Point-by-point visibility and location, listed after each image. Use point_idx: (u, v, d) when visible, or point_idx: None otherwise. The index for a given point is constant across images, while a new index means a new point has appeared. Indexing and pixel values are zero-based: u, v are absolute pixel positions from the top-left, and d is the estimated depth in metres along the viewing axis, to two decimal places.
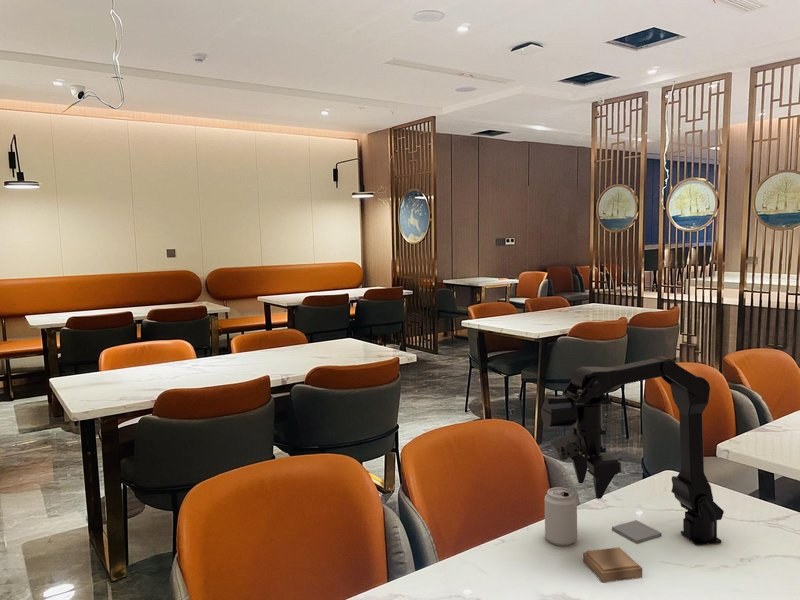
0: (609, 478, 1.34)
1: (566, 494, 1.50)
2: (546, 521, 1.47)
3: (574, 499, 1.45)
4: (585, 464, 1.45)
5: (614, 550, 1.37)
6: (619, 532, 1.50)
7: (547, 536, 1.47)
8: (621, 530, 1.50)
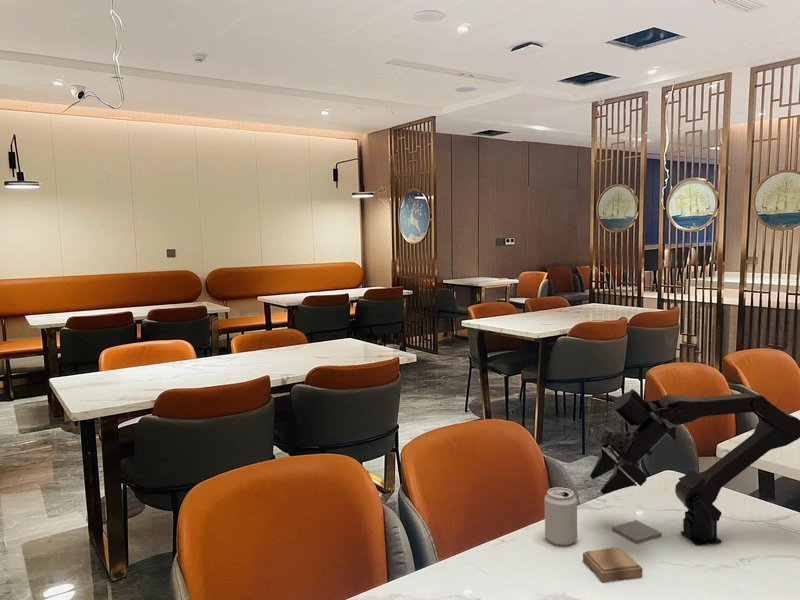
0: (625, 485, 1.40)
1: (566, 494, 1.50)
2: (546, 521, 1.47)
3: (574, 499, 1.45)
4: (607, 468, 1.51)
5: (614, 550, 1.37)
6: (619, 532, 1.50)
7: (547, 536, 1.47)
8: (621, 530, 1.50)
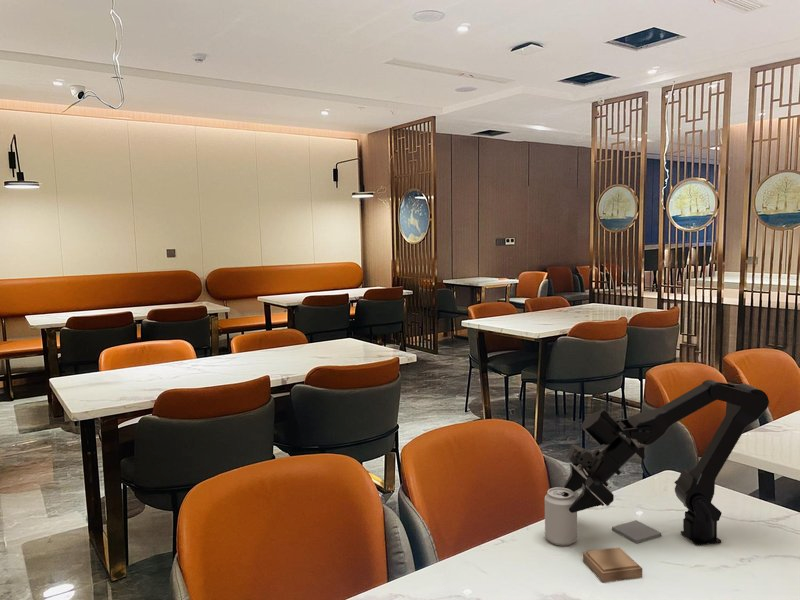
0: (592, 504, 1.40)
1: (566, 494, 1.50)
2: (546, 521, 1.47)
3: (574, 499, 1.45)
4: (577, 486, 1.51)
5: (614, 550, 1.37)
6: (619, 532, 1.50)
7: (547, 536, 1.47)
8: (621, 530, 1.50)
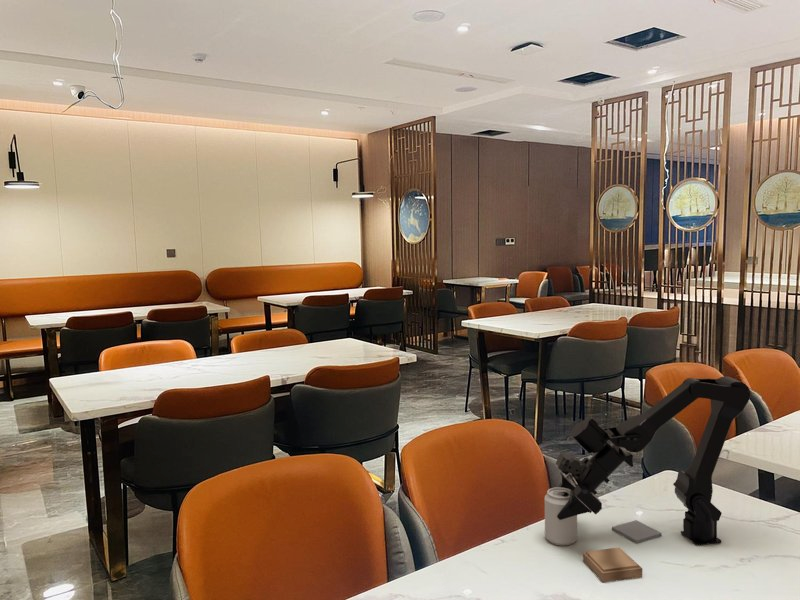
0: (580, 511, 1.41)
1: (566, 494, 1.50)
2: (546, 521, 1.47)
3: None
4: None
5: (614, 550, 1.37)
6: (619, 532, 1.50)
7: (547, 536, 1.47)
8: (621, 530, 1.50)
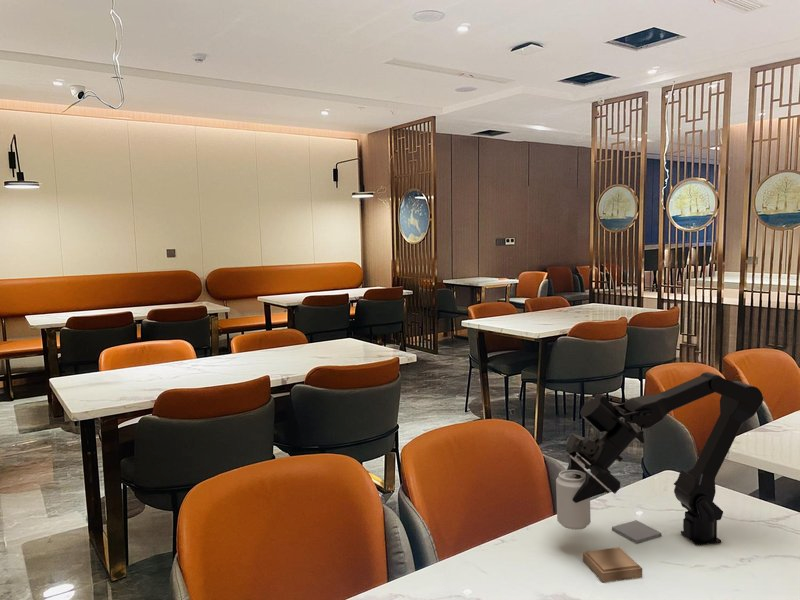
0: (597, 492, 1.37)
1: (576, 476, 1.45)
2: (559, 505, 1.41)
3: None
4: None
5: (614, 550, 1.37)
6: (619, 532, 1.50)
7: (561, 521, 1.41)
8: (621, 530, 1.50)
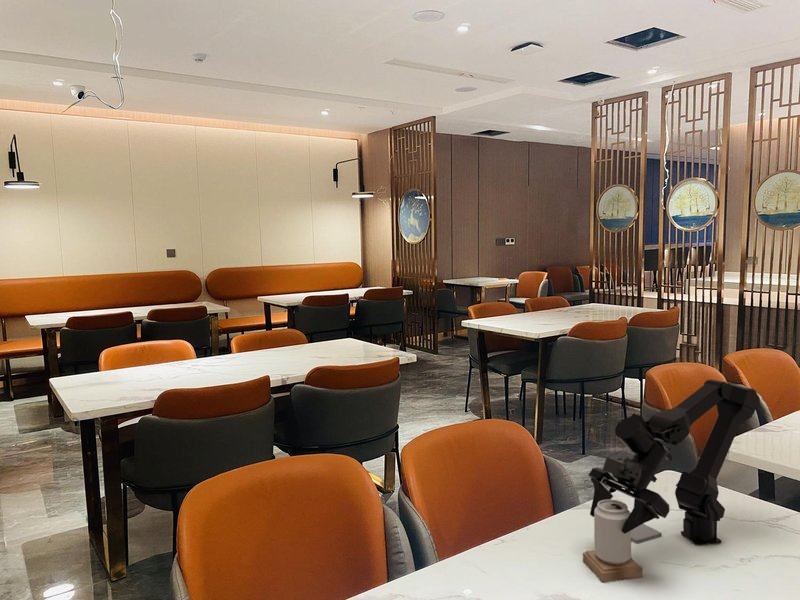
0: (646, 519, 1.29)
1: None
2: (602, 541, 1.31)
3: (628, 510, 1.32)
4: None
5: None
6: None
7: (604, 557, 1.31)
8: None
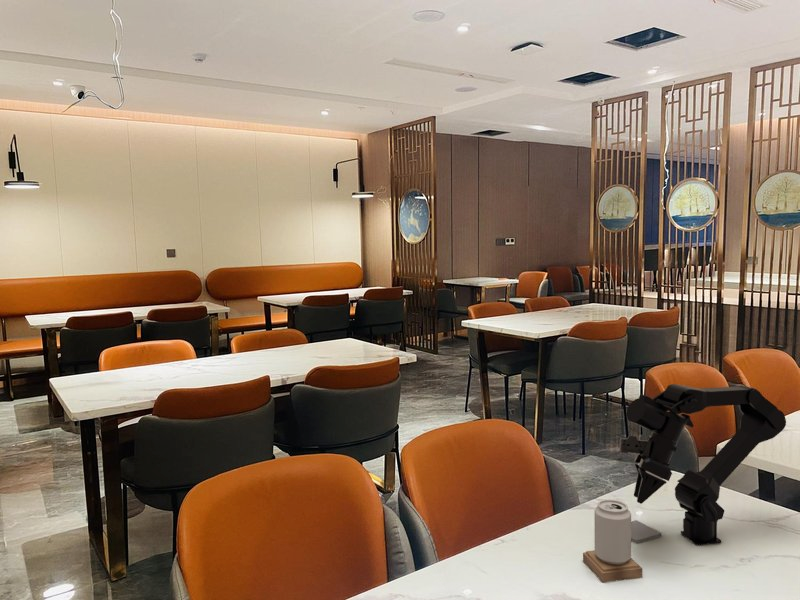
0: (656, 486, 1.34)
1: None
2: (602, 540, 1.31)
3: (628, 510, 1.33)
4: None
5: None
6: None
7: (604, 557, 1.31)
8: None
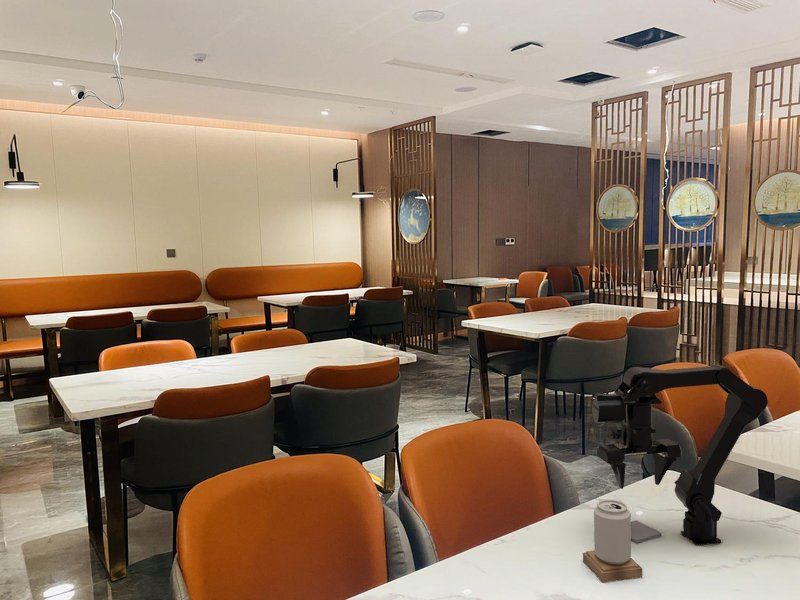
0: (618, 470, 1.43)
1: None
2: (602, 540, 1.31)
3: (627, 510, 1.33)
4: (660, 468, 1.45)
5: None
6: None
7: (604, 557, 1.31)
8: None
